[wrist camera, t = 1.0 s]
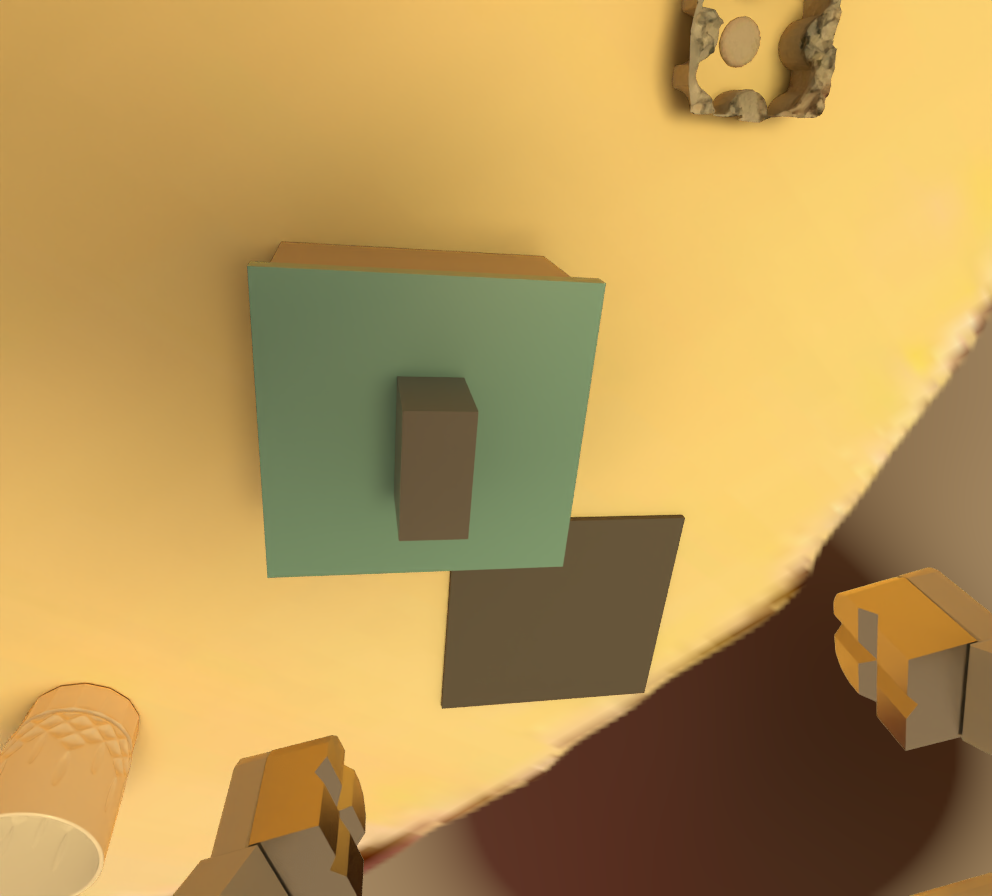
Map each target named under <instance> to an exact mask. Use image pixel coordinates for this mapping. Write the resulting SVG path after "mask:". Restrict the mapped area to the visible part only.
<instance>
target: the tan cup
mask: <svg viewBox="0 0 992 896" xmlns="http://www.w3.org/2000/svg"><path fill="white" fill-rule="evenodd" d="M138 725H139V715H138V713H137V712H136V710H135V709H134V707H133V705H132V704H131V702H130V701H129V700H128V699H127V698H125V697H123V696H122V695H120V694H118V693H117V692H115V691H113V690H112V689H110V688H105V687H100V686H96V685H90V684H77V685H68V686H60V687H58V688H56V689H54V690H52V691H50V692H48V693H46V694H44V695H42V696H40V697H39V698H38V700H37V701H36V702H35V704H34V705H33V706H32V708H31V709H30V711H29V712H28V713H27V715H26V717H25V718H24V720H23V722H22V723H21V725H20V727H19V728H18V730H17V731H16V732H15V733H14V734H13V735H12V736H11V738H10V739H9V741H8V742H7V744H6V746H5V747H4V749H3V750H2V752H1V753H0V896H78V895H80V894H81V893H83V892H84V891H86V890H87V889H88V888H89V887H90V886H92V885H93V884H94V882H95V881H96V880H97V879H98V877H99V876H100V874H101V872H102V869H103V866H104V862H105V858H106V854H107V851H108V847H109V843H110V840H111V836H112V833H113V829H114V825H115V822H116V818H117V815H118V811H119V808H120V804H121V801H122V797H123V793H124V790H125V785H126V781H127V776H128V773H129V769H130V765H131V760H132V752H133V749H134V745H135V742H136V738H137V735H138Z"/></svg>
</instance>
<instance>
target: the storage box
mask: <svg viewBox="0 0 992 896" xmlns="http://www.w3.org/2000/svg"><path fill="white" fill-rule="evenodd" d="M271 262H277V263H297V264H317V265H337V266H357V267H377V268H397V269H417V270H437V271H457V272H477V273H497V274H517V275H537V276H557V277H570V276H569V275H567V274H566V273H565V272H564V271H562V270H561V269H560V268H558V267H557V266H556V265H554V264H553V263H552V262H550V261H549V260H548V259H547V258H545V257H544V256H529V255H511V254H493V253H475V252H457V251H439V250H421V249H403V248H385V247H368V246H350V245H332V244H314V243H296V242H281V244H280V245H279V247H278V249H277V251H276V253H275V255H274V256H273V258H272V260H271Z"/></svg>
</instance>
